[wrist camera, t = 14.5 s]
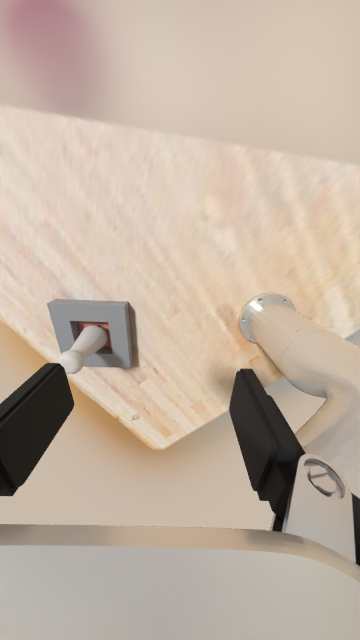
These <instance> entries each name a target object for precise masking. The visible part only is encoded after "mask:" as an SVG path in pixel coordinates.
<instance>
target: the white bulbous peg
mask: <svg viewBox="0 0 360 640" xmlns="http://www.w3.org/2000/svg"><path fill="white" fill-rule="evenodd" d="M106 343H107V332H106V329H105V328H103V327H102V326H100V325H90V326H88V327H86V328H84V329H83V331H82V332H81V334H80V335H79V337H78V338H77V340H76V341H75V343H74V344H73V346H72V347H71V349H70V350H68V351H65V352H63V353H62V354H61V355H60V356H59V358H58V359H57V363H59V364H61V365H62V366H63V367H64V369H65V372H66V373H67V374H75V373H77V372H79V371H80V370H81V369H82V367H83V366H84V364H85V359H87V358H88V357H89V356H91V355H92V354H94V353H95V352H96V351H98V350H99V349H100V348H102V347H103V346H104V345H105V344H106Z"/></svg>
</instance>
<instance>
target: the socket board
mask: <svg viewBox="0 0 360 640" xmlns="http://www.w3.org/2000/svg"><path fill="white" fill-rule="evenodd" d="M47 305H48V308H49V312H50V315H51V319H52V323H53V326H54V330H55V333H56V337H57V340H58V344H59V348H60V351H61V354H62V353H63V352H65V351H68V350H70V349H71V347H72V346H73V344H74V343H75V341H76V340H77V338H78V337H79V335H80V334H81V332H82V331H83V329H84V328H86V327H88V326H90V325H100V326H102V327H103V328H105V329H106V332H107V343H106V344H105V345H104V346H103V347H102V348H100V349H99V350H98V351H96V352H95V353H94V354H92V355H91V356H89V357H88V358H87V359H85V364H84V366H89V367H123V368H130V367H131V364H132V362H133V353H132V342H131V330H130V319H129V307H128V302H118V301H89V300H60V299H56V300H54V301H52V302H49V303H47Z"/></svg>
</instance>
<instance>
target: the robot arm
mask: <svg viewBox="0 0 360 640" xmlns="http://www.w3.org/2000/svg"><path fill="white" fill-rule="evenodd" d="M259 299H260V300H259ZM243 318H244V319H243ZM239 327H240V330H241V332H242V334H243V335H244V337H245V338H246V339H248V340H249V341H251V342H253V343H256V344H259V345H260V346H261V347H262V348H263V350H264V351H265V352H266V353H267V355H268V356H269V357H270V358H271V360H272V361H273V362H274V363H275V365H276V366H277V367H278V368H279V370H280V371H281V372H282V373H283V375H284V376H285V377H286V378H287V380H288V381H289V382H290V383H291V384H292V385H293V386H295V387H296V388H298V389H299V390H301V391H303V392H305V393H307V394H310V395H314V396H318V397H322V398H326V401H325V402H324V404H323V405H322V406H321V407H320V408H319V409H318V410H317V412H316V413H315V414H314V415H313V417H311V418H310V419H309V420H308V421H307V422H306V423H305V424H304V425H303V426H302V427H301V428H300V429H299V430H298V431H297V432H296V433H295V434H294V433H293V431H292V430H291V428H290V426H289V425H288V423H287V421H286V420H285V418H284V416H283V415H282V413H281V411H280V410H279V408H278V407H277V405H276V403H275V401H274V400H273V398H272V397H271V396H269V395H267V393H266V392H265V390H264V388H263V386H262V385H261V383H260V381H259V380H258V378H257V376H256V374H255V373H254V371H253V370H252V369H240V371H237V373H236V377H235V382H234V387H233V392H232V397H231V401H230V407H229V410H230V415H231V418H232V422H233V425H234V429H235V432H236V435H237V438H238V442H239V445H240V449H241V452H242V456H243V459H244V462H245V465H246V469H247V472H248V476H249V479H250V482H251V486H252V488H253V490H254V491H257V492H258V496H259V499H260V500H261V501H269V503H270V506H271V509H272V511H273V512H274V515H273V519H272V524H271V528H270V531H266V530H252V529H232V528H203V527H157V526H98V525H97V526H96V525H95V526H94V525H14V524H13V525H12V524H10V525H9V524H0V640H360V347H358V346H356V345H354V344H352V343H350V342H349V341H347V340H345V339H343V338H342V337H340V336H338V335H336V334H335V333H333V332H331V331H329V330H328V329H326V328H324V327H322V326H321V325H319V324H317V323H315V322H314V321H312V318H311V317H305V316H303V315H301V314H300V313H298V312H296V310H295V306H294V305H293V303H292V302H291V300H290V299H288V298H287V297H285V296H283V295H281V294H277V293H266V294H262V295H259V296H257V297H255V298H253V299H252V300H251V301H249V302H248V303H247V305H246V306H245V307H244V308H243V310H242V312H241V314H240V318H239ZM73 407H74V400H73V397H72V393H71V390H70V386H69V383H68V379H67V376H66V372H65V369H64V367H63V366H62V365H61V364H59V363H47V364H45V365H44V366H43V367H41V368H40V369H39V370H38V371H37V372H36V373H35V374H34V375H32V376H31V377H30V378H29V379H28V380H27V381H26V382H25V383H23V384H22V385H21V386H20V387H19V388H18V389H17V390H16V391H14V392H13V393H12V394H11V395H10V396H9V397H8V398H6V399H5V400H4V401H3V402H2V403H1V404H0V496H13V495H14V493H15V492H16V490H17V489H18V487H20V486H21V485H23V484H24V483H25V481H26V480H27V478H28V476H29V475H30V474H31V472H32V471H33V469H34V467H35V466H36V465H37V463H38V461H39V460H40V458H41V457H42V455H43V454H44V452H45V451H46V449H47V448H48V446H49V445H50V443H51V441H52V440H53V438H54V437H55V435H56V434H57V432H58V431H59V429H60V428H61V426H62V425H63V423H64V422H65V420H66V418H67V417H68V416H69V414H70V412H71V411H72V409H73Z"/></svg>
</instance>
